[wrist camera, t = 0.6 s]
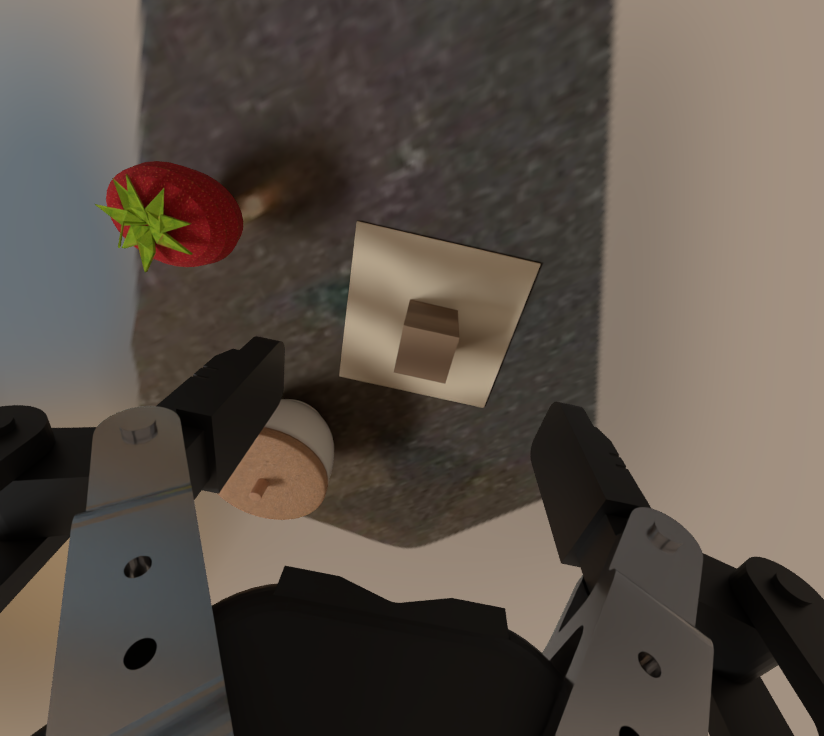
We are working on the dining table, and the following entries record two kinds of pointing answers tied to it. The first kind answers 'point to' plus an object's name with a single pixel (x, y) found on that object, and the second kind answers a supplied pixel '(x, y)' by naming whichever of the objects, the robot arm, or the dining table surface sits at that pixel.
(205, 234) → the strawberry
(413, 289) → the lid
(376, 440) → the dining table surface
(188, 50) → the dining table surface
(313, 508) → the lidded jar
